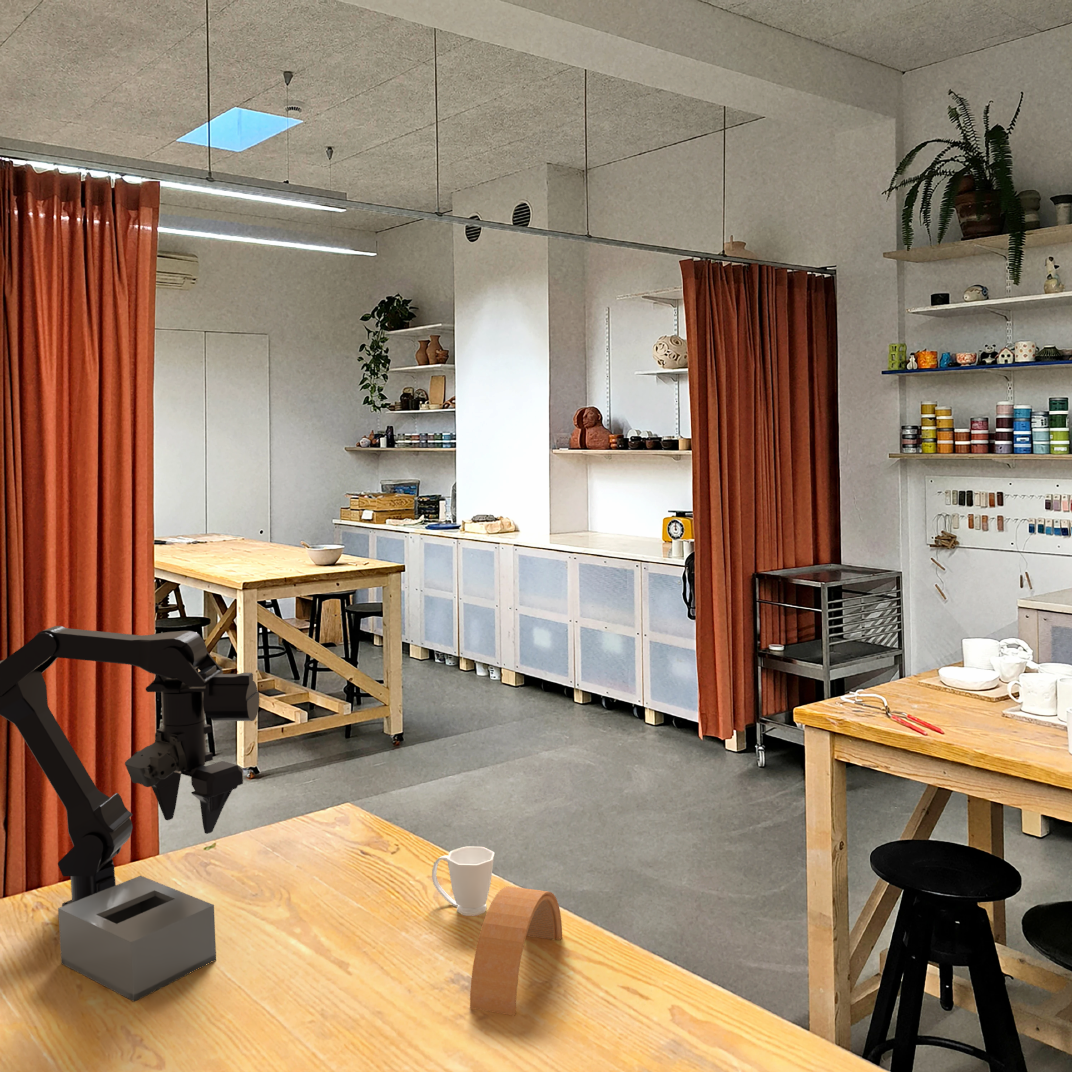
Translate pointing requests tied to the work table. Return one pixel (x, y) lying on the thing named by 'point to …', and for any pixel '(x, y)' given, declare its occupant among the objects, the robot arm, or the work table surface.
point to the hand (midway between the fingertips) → (188, 826)
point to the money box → (137, 936)
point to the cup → (467, 878)
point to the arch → (509, 944)
